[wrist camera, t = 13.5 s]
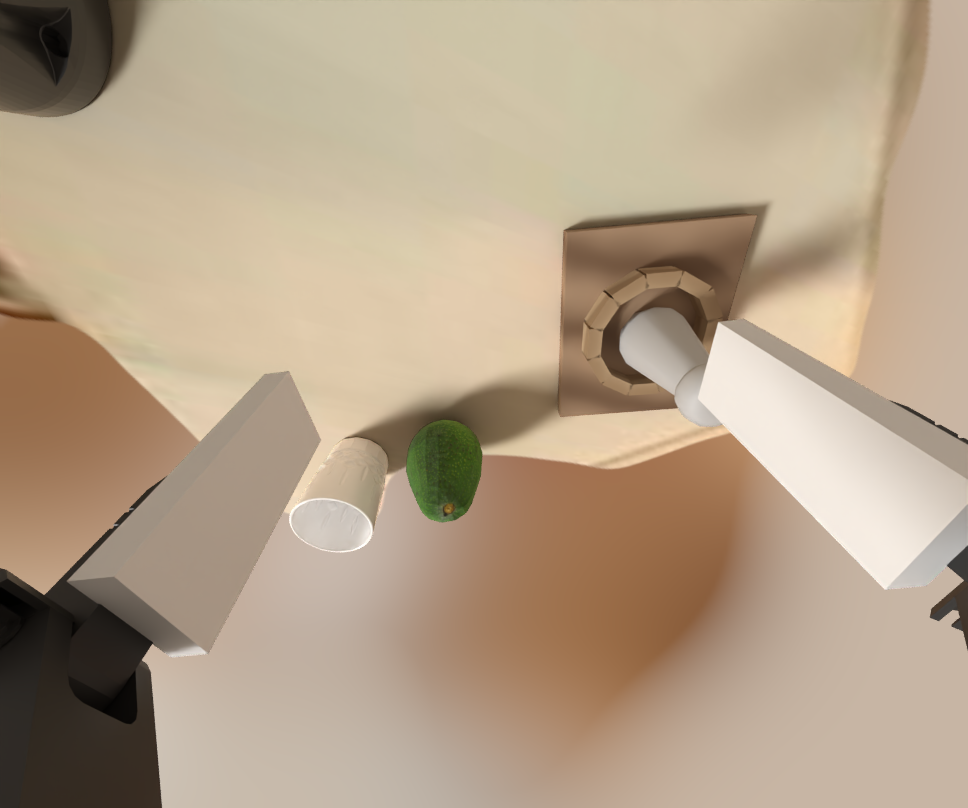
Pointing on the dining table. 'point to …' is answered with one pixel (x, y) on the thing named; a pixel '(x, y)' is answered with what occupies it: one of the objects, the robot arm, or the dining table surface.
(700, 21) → the dining table surface
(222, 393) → the dining table surface
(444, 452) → the avocado
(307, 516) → the white cup
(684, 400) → the salt shaker
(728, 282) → the cruet board
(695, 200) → the dining table surface
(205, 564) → the robot arm
